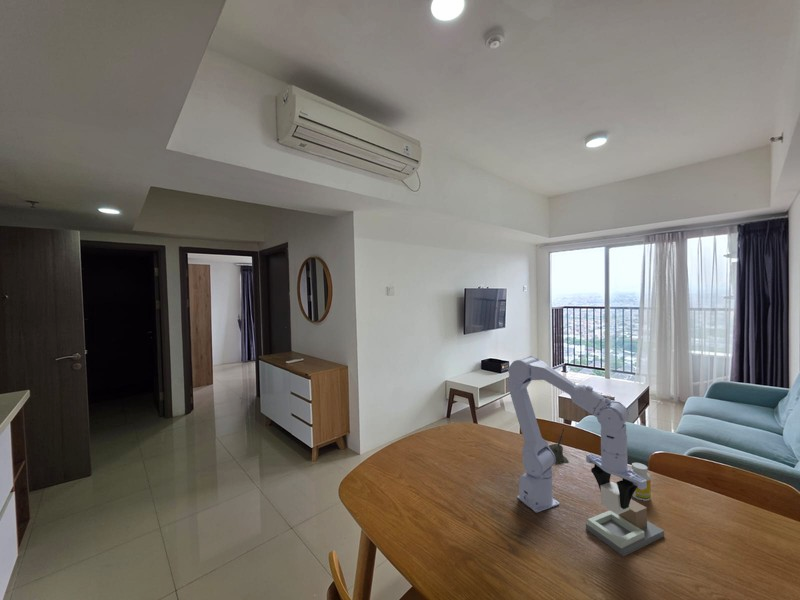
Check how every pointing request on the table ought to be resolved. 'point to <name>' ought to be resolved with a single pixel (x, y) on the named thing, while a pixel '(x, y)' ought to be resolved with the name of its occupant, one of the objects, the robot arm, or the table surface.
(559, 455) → the sword in stone
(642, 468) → the supplement bottle
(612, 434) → the robot arm
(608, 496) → the block
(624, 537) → the base plate
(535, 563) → the table surface
